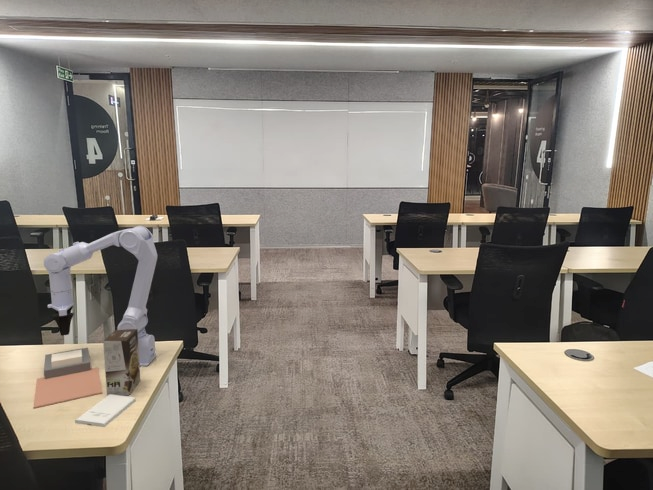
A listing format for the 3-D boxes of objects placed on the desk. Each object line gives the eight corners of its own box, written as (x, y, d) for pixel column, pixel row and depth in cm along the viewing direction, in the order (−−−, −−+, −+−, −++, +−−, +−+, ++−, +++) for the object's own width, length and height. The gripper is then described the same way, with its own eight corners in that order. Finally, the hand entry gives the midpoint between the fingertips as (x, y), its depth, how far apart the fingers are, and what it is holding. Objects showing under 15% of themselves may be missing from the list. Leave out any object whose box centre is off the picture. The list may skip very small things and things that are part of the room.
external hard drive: (135, 402, 118) (104, 429, 106) (109, 399, 120) (75, 425, 108) (135, 397, 118) (103, 423, 106) (108, 393, 119) (74, 418, 107)
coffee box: (130, 395, 120) (126, 340, 118) (106, 396, 120) (101, 340, 117) (141, 380, 129) (138, 328, 127) (119, 380, 129) (115, 328, 126)
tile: (52, 360, 135) (51, 354, 134) (81, 355, 139) (81, 349, 138) (51, 368, 130) (51, 361, 129) (82, 362, 134) (82, 356, 133)
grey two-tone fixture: (46, 363, 139) (45, 354, 139) (88, 355, 145) (88, 347, 145) (44, 380, 128) (43, 370, 128) (90, 371, 134) (90, 362, 134)
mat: (36, 379, 129) (36, 378, 128) (97, 368, 137) (97, 366, 137) (33, 408, 113) (33, 407, 113) (102, 393, 121) (102, 392, 121)
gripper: (46, 286, 141) (50, 326, 143) (45, 297, 129) (49, 340, 131) (72, 283, 145) (75, 322, 147) (72, 294, 132) (76, 336, 135)
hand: (65, 330), depth 139 cm, fingers open, 7 cm apart
